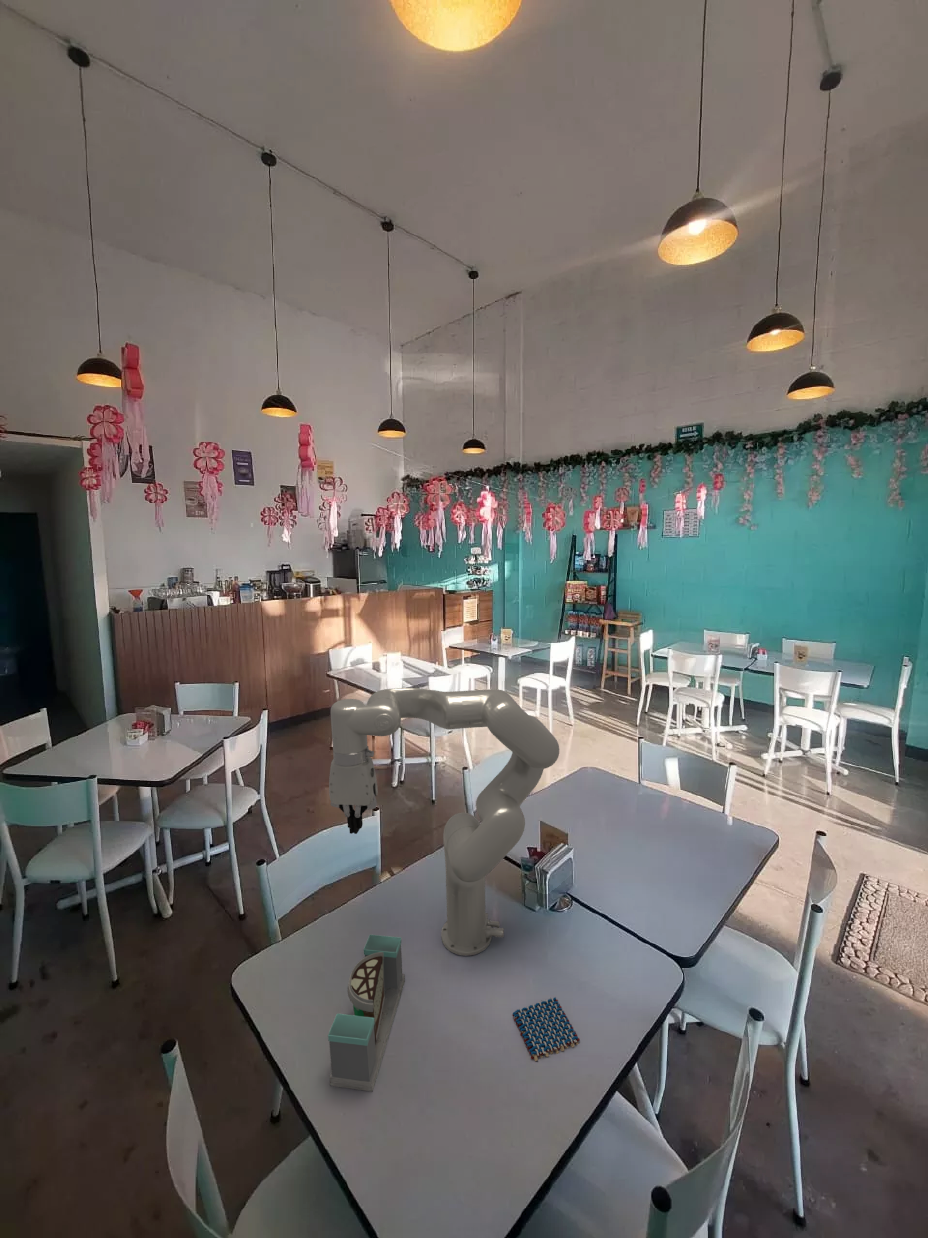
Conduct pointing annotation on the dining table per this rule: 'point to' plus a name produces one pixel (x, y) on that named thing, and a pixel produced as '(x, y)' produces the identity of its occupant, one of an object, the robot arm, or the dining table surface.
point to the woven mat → (545, 1028)
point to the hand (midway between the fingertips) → (355, 830)
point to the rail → (383, 1033)
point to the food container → (368, 988)
